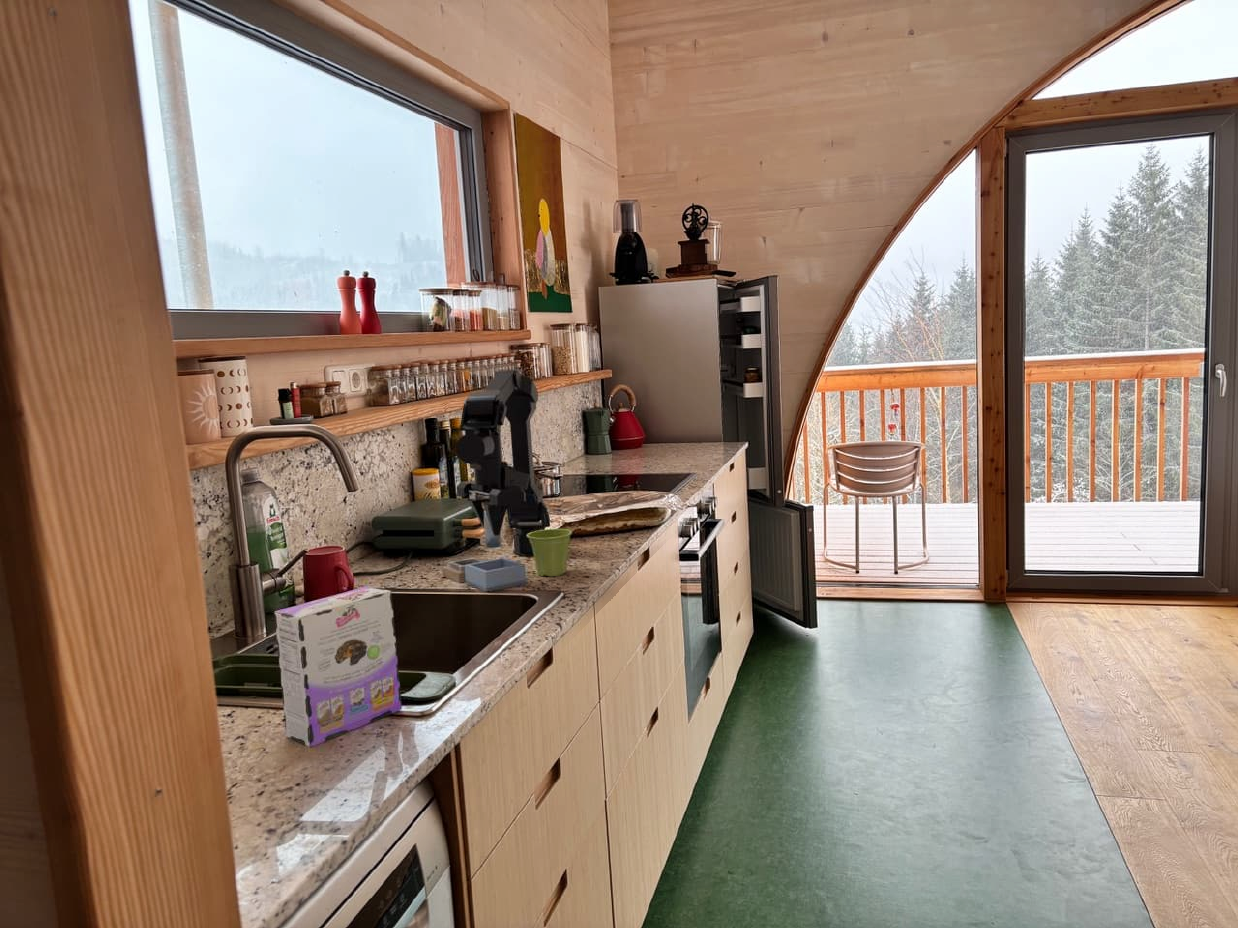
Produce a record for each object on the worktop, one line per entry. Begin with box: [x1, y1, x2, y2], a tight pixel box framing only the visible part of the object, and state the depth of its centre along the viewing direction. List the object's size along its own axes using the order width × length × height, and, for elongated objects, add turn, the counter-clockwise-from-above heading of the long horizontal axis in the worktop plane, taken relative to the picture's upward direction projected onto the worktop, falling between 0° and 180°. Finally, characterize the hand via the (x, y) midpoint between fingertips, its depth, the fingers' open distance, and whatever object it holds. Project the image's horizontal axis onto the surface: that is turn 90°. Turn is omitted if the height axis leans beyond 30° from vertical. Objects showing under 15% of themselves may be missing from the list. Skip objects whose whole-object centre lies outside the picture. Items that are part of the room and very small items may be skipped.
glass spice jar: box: [482, 501, 502, 549], centre depth 186 cm, size 4×4×9 cm
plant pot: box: [527, 528, 573, 577], centre depth 193 cm, size 9×9×9 cm
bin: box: [465, 557, 527, 592], centre depth 187 cm, size 9×9×4 cm
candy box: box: [274, 585, 403, 748], centre depth 117 cm, size 14×6×16 cm, turn 140°
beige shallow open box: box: [441, 557, 484, 583], centre depth 195 cm, size 8×8×3 cm
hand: (492, 534), depth 186 cm, fingers closed on glass spice jar, 3 cm apart
